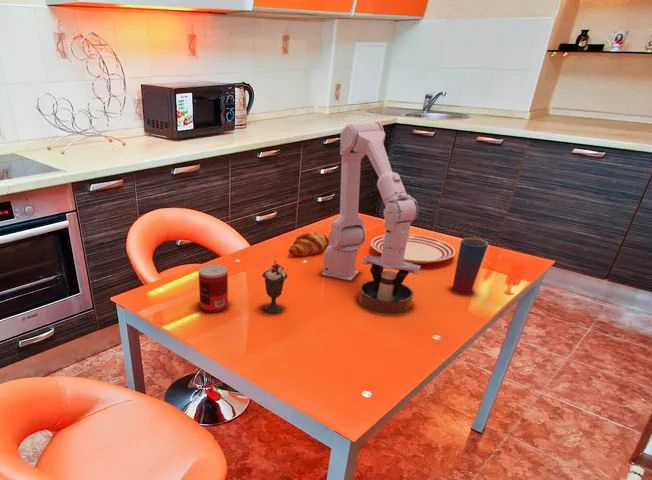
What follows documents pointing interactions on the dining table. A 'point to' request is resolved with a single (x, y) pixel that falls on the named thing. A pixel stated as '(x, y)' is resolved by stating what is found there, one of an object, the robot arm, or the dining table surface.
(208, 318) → the dining table surface
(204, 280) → the canned food
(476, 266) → the cup
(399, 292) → the pan
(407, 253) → the dinner plate
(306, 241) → the croissant
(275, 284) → the sundae
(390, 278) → the beige cylinder
